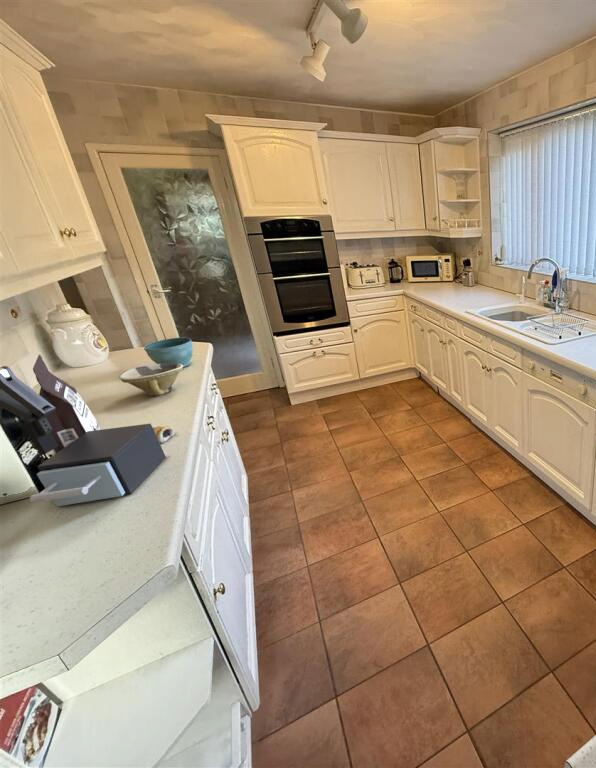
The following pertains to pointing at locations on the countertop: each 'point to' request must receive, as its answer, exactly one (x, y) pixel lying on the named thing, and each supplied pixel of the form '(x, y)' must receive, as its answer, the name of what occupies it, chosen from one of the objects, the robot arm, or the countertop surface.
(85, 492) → the light blue drawer
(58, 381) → the protein powder
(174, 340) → the teal blue bowl
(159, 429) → the pastry
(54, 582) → the countertop surface
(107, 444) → the drawer cabinet
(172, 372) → the bowl
